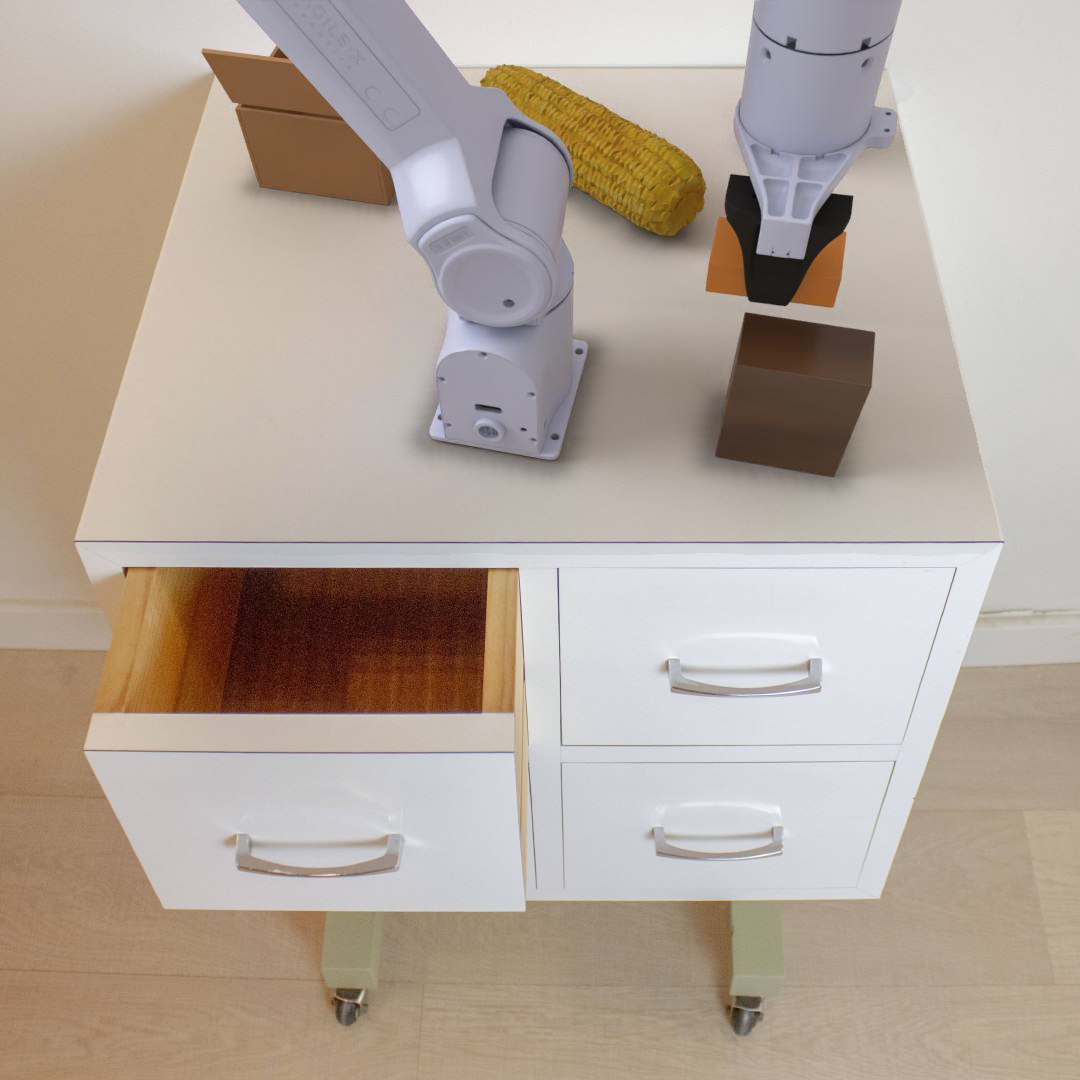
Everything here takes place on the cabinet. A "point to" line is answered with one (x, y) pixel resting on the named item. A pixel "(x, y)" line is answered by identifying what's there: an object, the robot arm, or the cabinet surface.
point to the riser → (795, 393)
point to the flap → (266, 82)
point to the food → (610, 152)
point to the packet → (812, 290)
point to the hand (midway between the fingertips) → (772, 272)
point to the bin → (312, 154)
